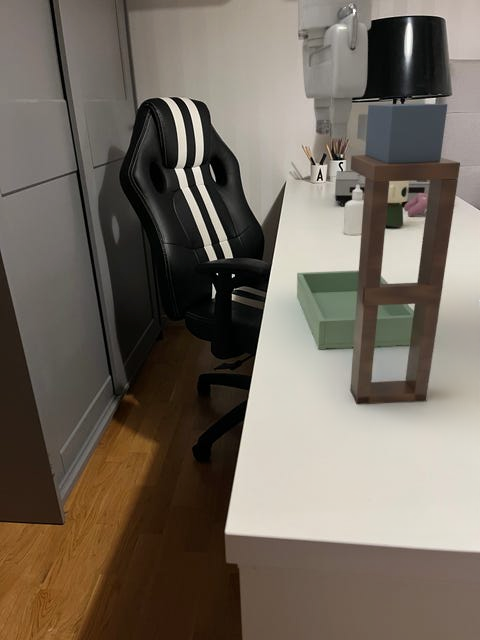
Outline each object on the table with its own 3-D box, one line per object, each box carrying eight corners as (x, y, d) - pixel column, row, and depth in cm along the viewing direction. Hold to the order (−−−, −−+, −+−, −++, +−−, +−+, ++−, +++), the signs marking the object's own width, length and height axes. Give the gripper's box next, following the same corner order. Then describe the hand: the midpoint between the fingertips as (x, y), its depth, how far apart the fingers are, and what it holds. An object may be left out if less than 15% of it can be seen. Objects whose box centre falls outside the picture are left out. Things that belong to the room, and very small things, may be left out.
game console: (441, 208, 151) (445, 180, 148) (334, 207, 157) (335, 180, 154) (431, 195, 170) (434, 170, 167) (335, 195, 176) (336, 171, 173)
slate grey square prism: (387, 147, 62) (391, 103, 60) (440, 161, 47) (447, 104, 45) (347, 148, 62) (349, 104, 60) (387, 163, 47) (392, 105, 45)
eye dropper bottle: (344, 230, 129) (347, 183, 124) (367, 232, 127) (370, 183, 123) (342, 234, 125) (344, 186, 121) (365, 236, 124) (368, 186, 119)
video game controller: (420, 222, 141) (435, 200, 138) (406, 215, 141) (420, 192, 138) (415, 215, 150) (429, 194, 147) (402, 208, 150) (415, 187, 147)
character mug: (401, 232, 126) (407, 179, 121) (373, 230, 129) (377, 178, 124) (406, 222, 135) (412, 173, 130) (379, 221, 138) (384, 172, 133)
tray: (373, 292, 88) (375, 269, 86) (415, 345, 69) (419, 316, 68) (296, 296, 88) (297, 272, 86) (318, 349, 69) (319, 321, 67)
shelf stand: (399, 362, 65) (424, 153, 54) (426, 400, 57) (460, 162, 46) (338, 365, 65) (351, 155, 54) (356, 404, 57) (375, 165, 46)
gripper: (387, -2, 51) (376, 141, 57) (340, 25, 70) (336, 131, 76) (326, 0, 51) (321, 143, 57) (296, 27, 70) (295, 132, 75)
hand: (329, 136), depth 66 cm, fingers open, 8 cm apart
